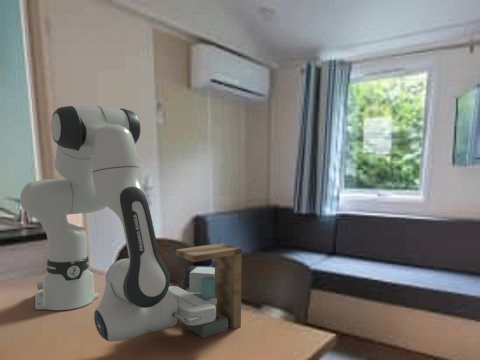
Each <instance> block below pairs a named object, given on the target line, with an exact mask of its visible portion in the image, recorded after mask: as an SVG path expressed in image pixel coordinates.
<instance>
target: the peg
mask: <svg viewBox="0 0 480 360" xmlns="http://www.w3.org/2000/svg"><path fill="white" fill-rule="evenodd" d="M214 279H215V278H214V277H209V276H207V277H202V278H201V299H203V300H206V301H207V300H208V298H210V297H214Z"/></svg>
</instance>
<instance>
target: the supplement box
mask: <svg viewBox="0 0 480 360" xmlns="http://www.w3.org/2000/svg"><path fill="white" fill-rule="evenodd" d="M207 276H209V277H214V278H215V267H213V266H212V267H207V266H206V267H205V266H195V268H194V269H192V270H191V271H190V272H189V280H188V281H189V283H188V284H189V286H188V288H189V290H188V292H189V293H200V292H201V278H202V277H207ZM214 296H215V279H214Z"/></svg>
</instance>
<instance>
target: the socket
mask: <svg viewBox="0 0 480 360" xmlns="http://www.w3.org/2000/svg"><path fill="white" fill-rule="evenodd" d="M186 328H187V329H189V330H190V331H192V332H193V333H195V334H196V335H198V336H199V337H201V338H202V339H204V338H206V337H210V336H213V335H216V334H219V333H222V332H225V331H228V330H229V326H228V318H226V317H224V316H222V315H220V314H218V313H217V312H216V319H215V320H214V321H213V322H209V323H205V324H200V325H187V324H186Z"/></svg>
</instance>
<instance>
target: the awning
mask: <svg viewBox="0 0 480 360" xmlns="http://www.w3.org/2000/svg"><path fill="white" fill-rule="evenodd" d="M242 249H243V248H241V247H239V246H234V245H231V244H227V243H225V242H217V243H211V244H205V245H198V246H192V247H184V248H177V249H176V251H175V255H176V256H177V257H180V258H182V259H184V260H188V261H191V262H193V263H196V262H203V261H207V260H208V261H209V260H213V259H214V268H215V296H214V297H215V298H217V304H216V305H215V306H216V312H217V313H218V314H220V315H222V316H224V317H226V318H228V328H229V327H230V328H231V329H233V330H234V329H237V328H241V326H242V262H243V261H242V257H243V256H242V253H243V252H242Z"/></svg>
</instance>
